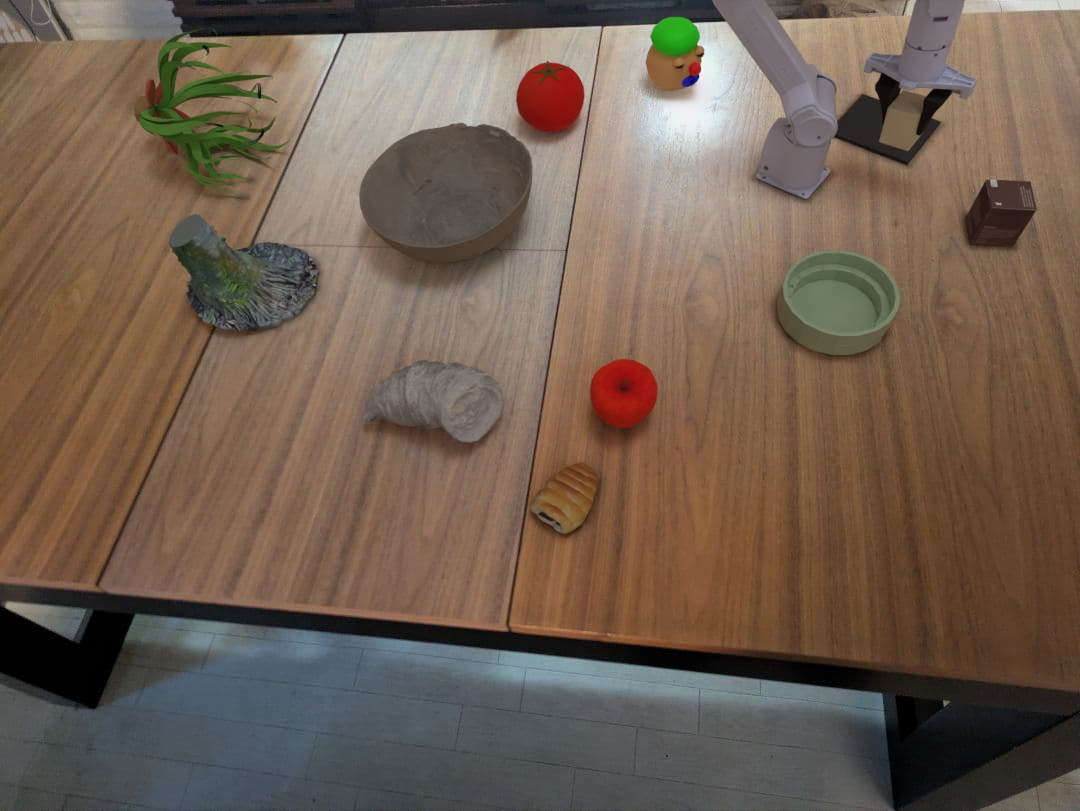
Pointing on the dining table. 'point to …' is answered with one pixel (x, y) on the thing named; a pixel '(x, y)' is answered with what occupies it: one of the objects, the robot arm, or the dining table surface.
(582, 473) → the pastry
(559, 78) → the tomato
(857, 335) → the green bowl
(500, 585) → the dining table surface
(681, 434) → the dining table surface
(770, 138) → the robot arm
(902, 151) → the mat
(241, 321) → the tree stump
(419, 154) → the bowl
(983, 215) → the box
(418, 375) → the seashell
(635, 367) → the apple
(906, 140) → the block
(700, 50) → the figurine
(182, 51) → the decorative plant
